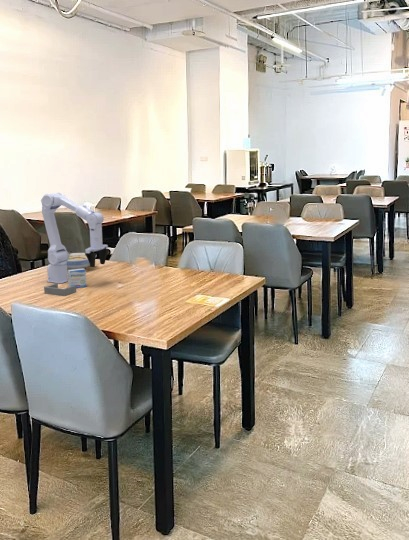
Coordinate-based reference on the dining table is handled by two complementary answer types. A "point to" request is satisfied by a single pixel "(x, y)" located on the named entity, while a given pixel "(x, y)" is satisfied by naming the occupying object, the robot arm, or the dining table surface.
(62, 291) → the cradle jig
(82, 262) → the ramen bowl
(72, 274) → the medicine box
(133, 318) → the dining table surface
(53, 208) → the robot arm
